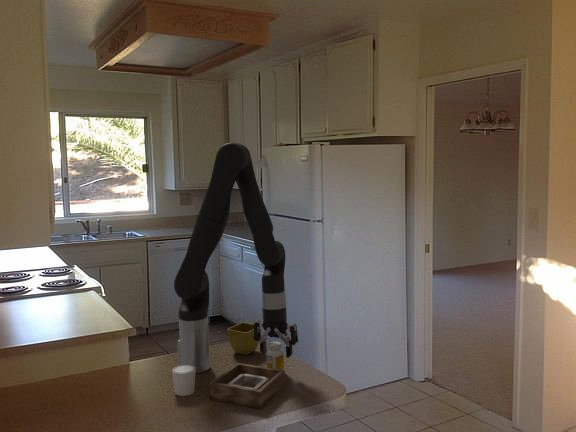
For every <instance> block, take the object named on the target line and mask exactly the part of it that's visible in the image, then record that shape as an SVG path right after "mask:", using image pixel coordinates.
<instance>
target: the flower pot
mask: <svg viewBox="0 0 576 432" xmlns="http://www.w3.org/2000/svg"><path fill="white" fill-rule="evenodd" d="M227 336H228V341H229V344H230V346H231V349H232V350H233V351H234V352H235V353H237V354H241V355H245V356H247V355H249V354H251V353H253V352H254V351H256V350H257V347H258V346H259V345H260V343H259V342H258V341H255V340H254V323H249V322H239V323H238V324H235V325H233V326H231V327H228V328H227Z"/></svg>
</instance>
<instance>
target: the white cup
mask: <svg viewBox="0 0 576 432" xmlns="http://www.w3.org/2000/svg"><path fill="white" fill-rule="evenodd" d="M171 370H172V371H171V374H172V381H173V387H174V388H173V389H174V393H175V395H177V396H181V397H186V395H187V396H190V395H193V394H194V393H195V389H196V388H195V387H196V386H195V385H196V384H195V383H196V373H195V370H196V367H195V366H192V365H180V366H178V365H176V366H175V367H173V368H172V369H171Z"/></svg>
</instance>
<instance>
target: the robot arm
mask: <svg viewBox="0 0 576 432" xmlns="http://www.w3.org/2000/svg"><path fill="white" fill-rule="evenodd" d="M213 163H214V164H213V167H212V168H213V170H212V172H211V178H210V181H209V184H208V188H207V189H206V192H205V194H204V198H203V200H202V203H201V206H200V209H199V211H198V214H197V217H196V219H195V223H194V226H193V230H192V233H191V236H190V239H189V243H188V247H187V249H186V253H185V255H184V258H183V261H182V262H181V265H180V267H179V270H178V271H177V273H176V276H175V278H174V282H173V286H174V287H173V288H174V292H175V293H176V295H177V296H178V297H179V298H180V299H181V303H180V306H179V309H178V326H179V327H178V328H179V339H178V340H177V342H176V343H177V345H176V346H177V347H176V348H177V363H178V364H177V366H180V365H192V366H195V367H196V370H195V374H199V373H200V374H201V373H204V372H206V371H208V370H209V369H210V368H211V367H210V363H211V361H210V342H209V341H210V339H209V313H208V312H209V306H210V280H209V276H208V273H207V271H206V268H207V265H208V262H209V260H210V258H211V257H212V254H213V253H214V251H215V249H216V248H217V246H218V245H219V243H220V241H221V239H222V237H223V234H224V232H225V229H226V226H227V224H228V220H229V217H230V211H231V196H232V191H233V188H234V185H235V183H236V185H237V187H238V190H239V196H240V198H241V204H242V209H243V213H244V217H245V220H246V223H247V225H248V228H249V229H250V232H251V235H252V238H253V244H254V249H255V253H256V255H257V258H258V260H259V262H260V263H261V264H263V265H264V266H263V267H264V270H263V274H262V276H261V292H262V293H261V306H262V307H261V308H262V309H261V310H262V313H261V314H262V320H263V321H262V322H261V320H256V321H255V322H254V323H253V324H254V340H255V341H258V342H259V351H260V353H261V355H262V356H263V355H264V356H265V355H266V352H267V350H268V349H267V341H266V340H267V339H268V338H277V339H279V338H280V340H281V341H283V342H284V344H285V345H286V346H285V357H286V358H288V359H289V358H290V357H292V355H293V346H295V345H296V344H297V343H298V342H299V339H298V336H299V335H298V327H297V324H296V323H293V324H288V322H287V319H288V316H287V312H288V311H287V296H286V287H285V270H286V269H285V267H286V248H285V247H284V245H283V244H282V243H281V241H278V240H275V236H274V233H273V231H274V224H273V222H272V219H271V217H270V214H269V212H268V209H267V206H266V205H265V202H264V199H263V197H262V194H261V191H260V188H259V185H258V182H257V178H256V173H255V168H254V165H253V160H252V156H251V153H250V150H249V148H248V147H246V146H245V145H244V144H242V143H239V142H238V143H237V142H227V143H225V144H223V145H222V146H220V148H219V149H218V150H217V153H216V156H215V160H214V162H213ZM262 328H263V329H264V332H263V333H262V335H261V331H262ZM288 332H289V333H290V334H289V333H288Z"/></svg>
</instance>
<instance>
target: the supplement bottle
mask: <svg viewBox="0 0 576 432" xmlns="http://www.w3.org/2000/svg"><path fill="white" fill-rule="evenodd" d="M267 345H268V349H267V352H266V354H265V355H266V356H265V357H266V367H267V368H273V369H279V370H285V363H284V362H285V361H284V358H285V357H284V350H283V349H282V342H280V341H270V342H268V344H267Z"/></svg>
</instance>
